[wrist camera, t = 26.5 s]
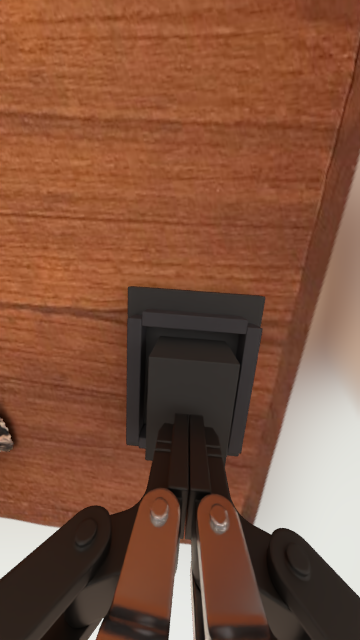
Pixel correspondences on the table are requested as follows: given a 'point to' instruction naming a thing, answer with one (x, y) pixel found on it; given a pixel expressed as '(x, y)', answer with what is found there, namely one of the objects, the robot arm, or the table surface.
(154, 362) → the small black block
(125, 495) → the table surface
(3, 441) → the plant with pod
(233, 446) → the base pad
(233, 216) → the table surface
